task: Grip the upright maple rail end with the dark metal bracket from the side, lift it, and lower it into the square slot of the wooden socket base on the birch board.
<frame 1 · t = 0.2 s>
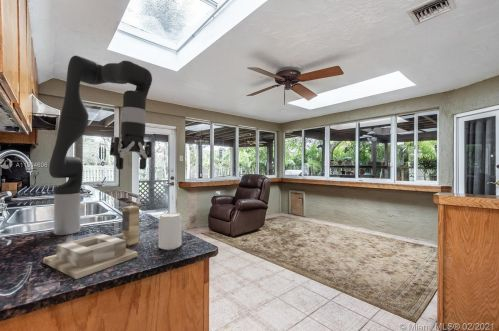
hand: (131, 169, 82), 29 cm above the counter, tool pointing down, fingers open, 8 cm apart
beverage can: (170, 247, 88), on the counter
adjustable wrench: (107, 240, 96), on the counter
wooden socket base: (92, 259, 76), on the counter
rail end: (130, 243, 92), on the counter
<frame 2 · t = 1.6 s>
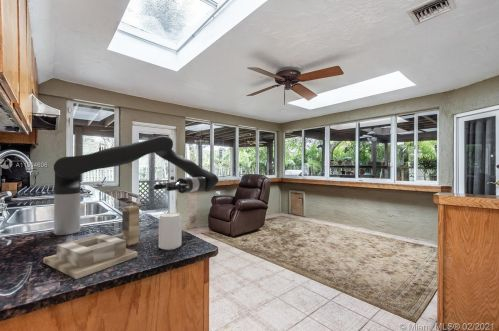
hand: (160, 187, 103), 20 cm above the counter, tool horizontal, fingers open, 8 cm apart
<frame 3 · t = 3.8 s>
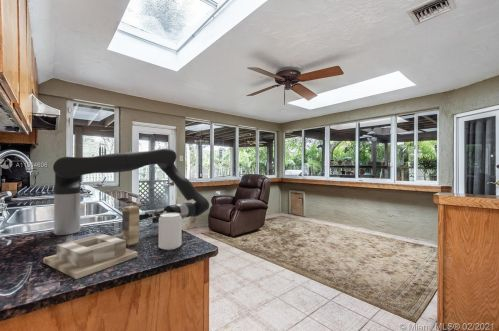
hand: (146, 219, 98), 8 cm above the counter, tool horizontal, fingers open, 8 cm apart
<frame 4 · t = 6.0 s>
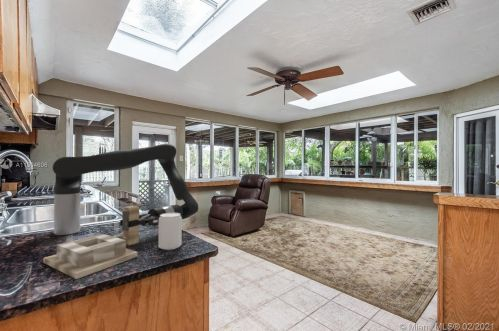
hand: (124, 223, 89), 8 cm above the counter, tool horizontal, fingers closed on rail end, 4 cm apart
rail end: (131, 242, 92), on the counter, touching gripper
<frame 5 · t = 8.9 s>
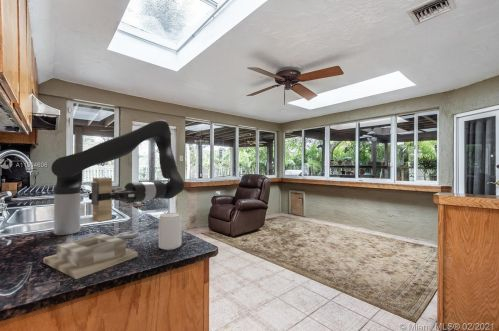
hand: (93, 197, 77), 20 cm above the counter, tool horizontal, fingers closed on rail end, 4 cm apart
rail end: (102, 220, 79), point 12 cm above the counter, touching gripper
when the fingers open (11 cm above the counter, at t = 11.6 s): rail end drops 2 cm, resting on wooden socket base.
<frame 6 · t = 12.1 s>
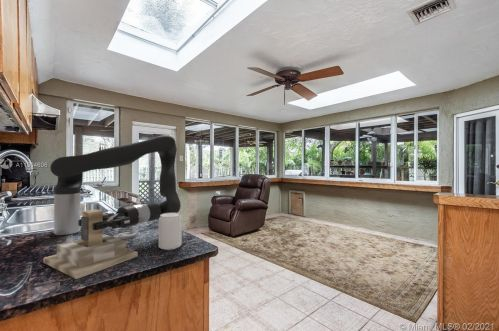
hand: (85, 224, 74), 12 cm above the counter, tool horizontal, fingers open, 8 cm apart
rail end: (92, 254, 76), point 1 cm above the counter, touching wooden socket base
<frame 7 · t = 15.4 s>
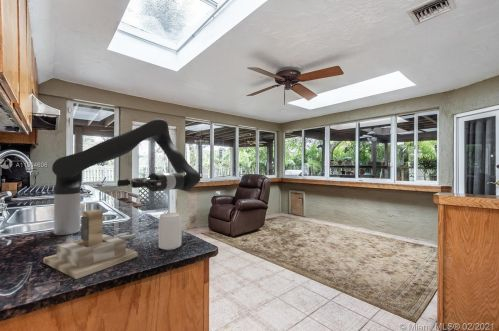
hand: (124, 183, 85), 23 cm above the counter, tool horizontal, fingers open, 8 cm apart
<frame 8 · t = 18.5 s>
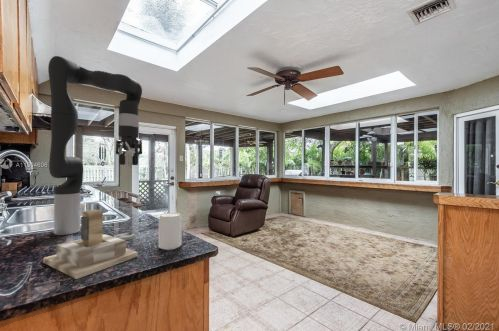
hand: (128, 164, 99), 30 cm above the counter, tool pointing down, fingers open, 8 cm apart
at the end: rail end 0.0 cm off-centre on the wooden socket base, point 1.5 cm above the wooden socket base's base; rail end tilted 0°; the gripper is holding nothing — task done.
